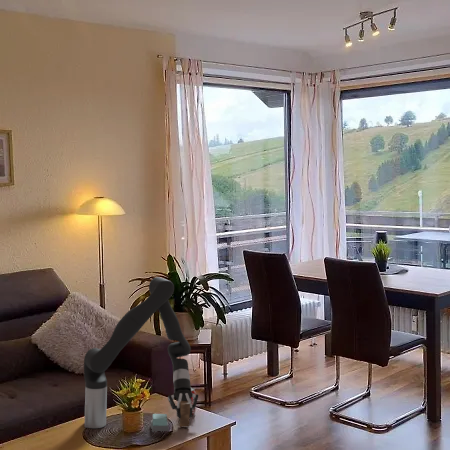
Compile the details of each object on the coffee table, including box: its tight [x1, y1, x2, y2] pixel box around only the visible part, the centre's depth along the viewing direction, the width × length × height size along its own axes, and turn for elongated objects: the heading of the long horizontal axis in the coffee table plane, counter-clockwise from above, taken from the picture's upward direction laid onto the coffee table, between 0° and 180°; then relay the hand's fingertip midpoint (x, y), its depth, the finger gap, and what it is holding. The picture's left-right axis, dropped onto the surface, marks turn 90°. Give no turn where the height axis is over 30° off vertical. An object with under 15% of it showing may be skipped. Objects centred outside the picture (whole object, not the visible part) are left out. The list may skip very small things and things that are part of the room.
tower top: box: [152, 413, 168, 426], centre depth 291 cm, size 6×6×3 cm
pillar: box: [178, 401, 191, 428], centre depth 293 cm, size 4×4×10 cm
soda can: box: [190, 386, 197, 416], centre depth 310 cm, size 7×7×12 cm
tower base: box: [150, 419, 170, 433], centre depth 291 cm, size 7×7×3 cm
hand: (185, 417), depth 292 cm, fingers closed on pillar, 4 cm apart
